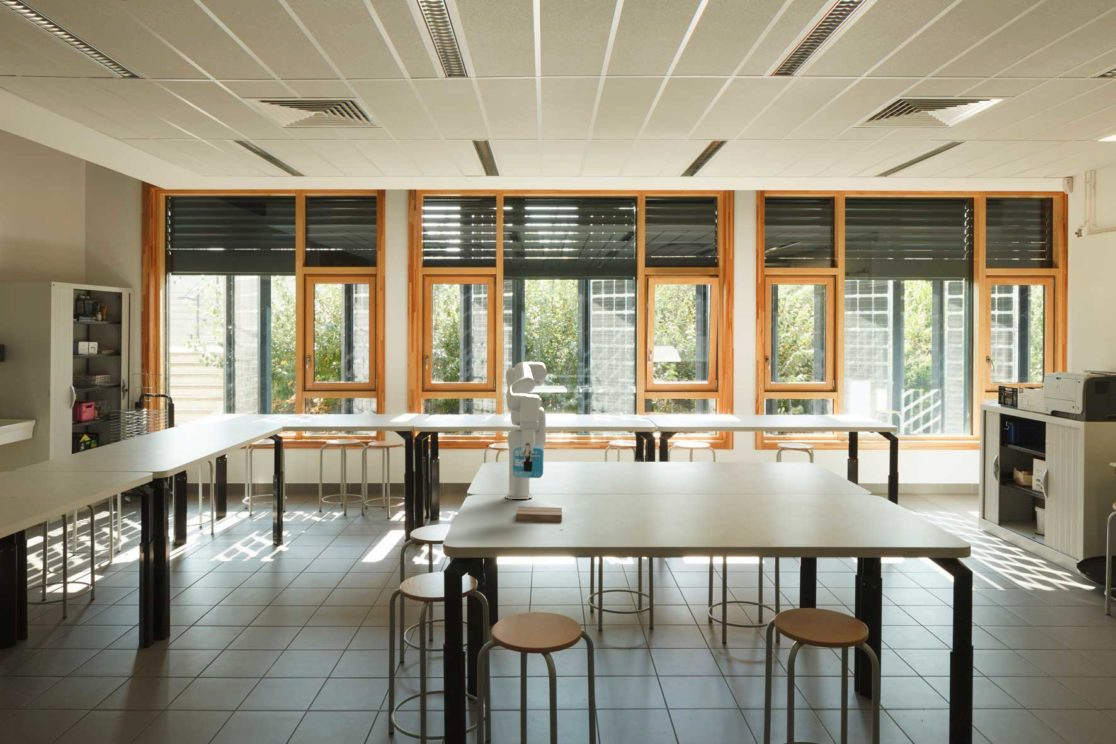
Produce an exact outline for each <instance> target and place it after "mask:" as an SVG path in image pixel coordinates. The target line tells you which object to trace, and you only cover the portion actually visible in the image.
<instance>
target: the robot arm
mask: <svg viewBox="0 0 1116 744" xmlns="http://www.w3.org/2000/svg"><path fill="white" fill-rule="evenodd" d="M547 374H548V370H547V367H546V365H545V363H543V362H542V361H541V362H540V361H520V362H518V363H516V364H515V366H514V367H511V368H508V369H507V370H506V372H505V380H506V382H505V383H506V385H507V390H506V398H505V399H506V407H507V409H508V410H509V411H510V421H511V424H512V426H516V427H519V428H517V429H512V430H510V431H509V432H508V434H507V443H508V445H507V446H508V493H505V496H504V498H505V497H506V499H507V498H508V499H507V500H512V499H527V500H530V499H529V498H531V499H533V494H531V493H530V481H531V480H530V479H531V478H524V477H515V476H514V475H513V450H514V449H515V448H516V447H521V454H523V453H524V451H525V457H524V471H527V472H531V471H532V462H531V455H532V454H533V451H534V447H541V448H542V449H543V450H544V449H545V447H546V443H547V442H546V440H547V439H546V438H547V435H546V433H547V432H546V430H547V429H546V425H547V424H546V410H545V408H543V407H542V398H541V396H539V395H538V394H537V393H531V392H532V391H533V390H534V389H535V387H541V386H543V384H544V383H545V381H546V379H547ZM529 447H530V448H529ZM530 450H531V453H530V454H529V452H530Z"/></svg>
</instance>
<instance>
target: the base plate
mask: <svg viewBox="0 0 1116 744" xmlns="http://www.w3.org/2000/svg"><path fill="white" fill-rule="evenodd" d="M562 511H563V508H562V507H547V506H545V507H542V506H541V507H540V506H538V507H537V506H536V507H535V506H518V507H517V511H516V518H515V520H516V521H534V522H533V523H557V522H562V523H563V521H562V519H563V514H562V513H563V512H562ZM516 521H515V522H516Z"/></svg>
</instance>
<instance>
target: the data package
mask: <svg viewBox="0 0 1116 744" xmlns="http://www.w3.org/2000/svg"><path fill="white" fill-rule="evenodd" d="M529 448H530V447H529ZM530 453H531V450H530V452H529V454H530ZM524 457H525V451H524V453H523V454H521V447H516V448H515V449H514V450H513V475H514V476H515V477H524V478H530V479H532V478H533V479H541V477H542V476H543V474H544V449H542V448H541V447H534V451H533V454H532V455H531V462H532V471H531V472H527V471H524Z"/></svg>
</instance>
